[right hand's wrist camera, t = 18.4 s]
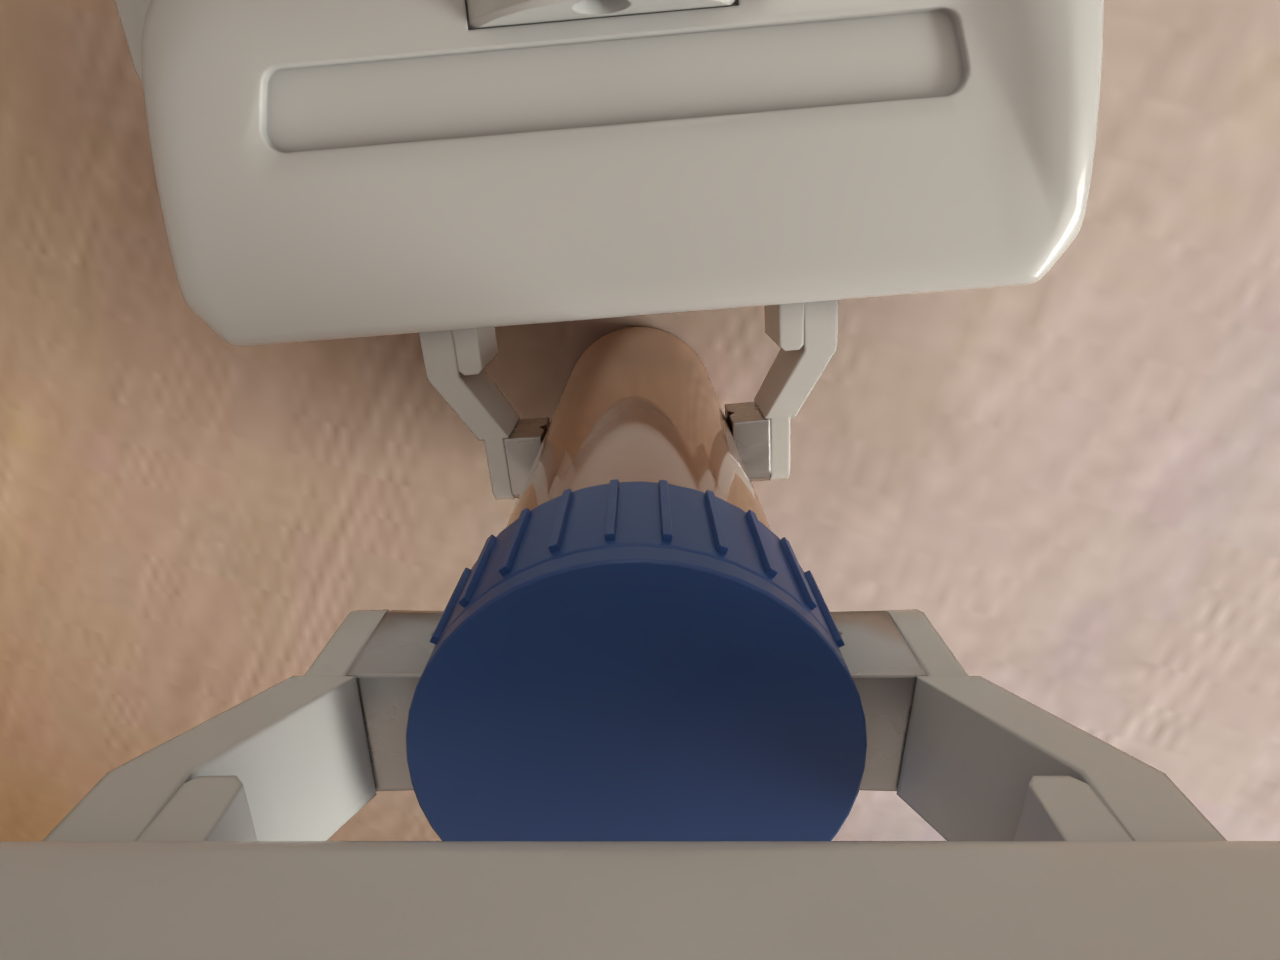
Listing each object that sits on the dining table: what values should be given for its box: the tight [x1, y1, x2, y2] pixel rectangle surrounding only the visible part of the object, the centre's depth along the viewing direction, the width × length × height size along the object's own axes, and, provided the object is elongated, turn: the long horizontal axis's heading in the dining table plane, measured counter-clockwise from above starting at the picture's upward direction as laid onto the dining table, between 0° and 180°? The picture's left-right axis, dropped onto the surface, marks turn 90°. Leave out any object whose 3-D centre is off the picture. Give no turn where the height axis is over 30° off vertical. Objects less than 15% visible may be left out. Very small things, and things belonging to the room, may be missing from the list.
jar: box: [506, 327, 771, 531], centre depth 16 cm, size 5×5×16 cm
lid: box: [406, 479, 867, 841], centre depth 9 cm, size 6×6×2 cm
